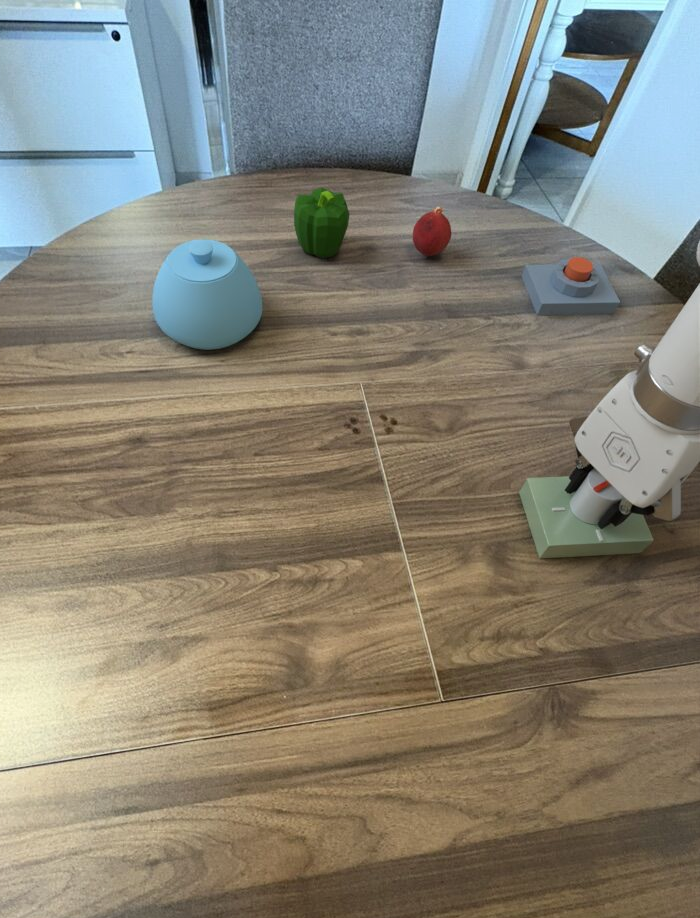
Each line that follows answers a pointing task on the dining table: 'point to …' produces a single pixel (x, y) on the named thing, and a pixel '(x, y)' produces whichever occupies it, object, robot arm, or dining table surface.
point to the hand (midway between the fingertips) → (592, 503)
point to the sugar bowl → (206, 296)
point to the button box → (568, 291)
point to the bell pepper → (321, 222)
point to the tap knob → (594, 498)
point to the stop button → (578, 269)
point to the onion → (432, 233)
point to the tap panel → (575, 524)
